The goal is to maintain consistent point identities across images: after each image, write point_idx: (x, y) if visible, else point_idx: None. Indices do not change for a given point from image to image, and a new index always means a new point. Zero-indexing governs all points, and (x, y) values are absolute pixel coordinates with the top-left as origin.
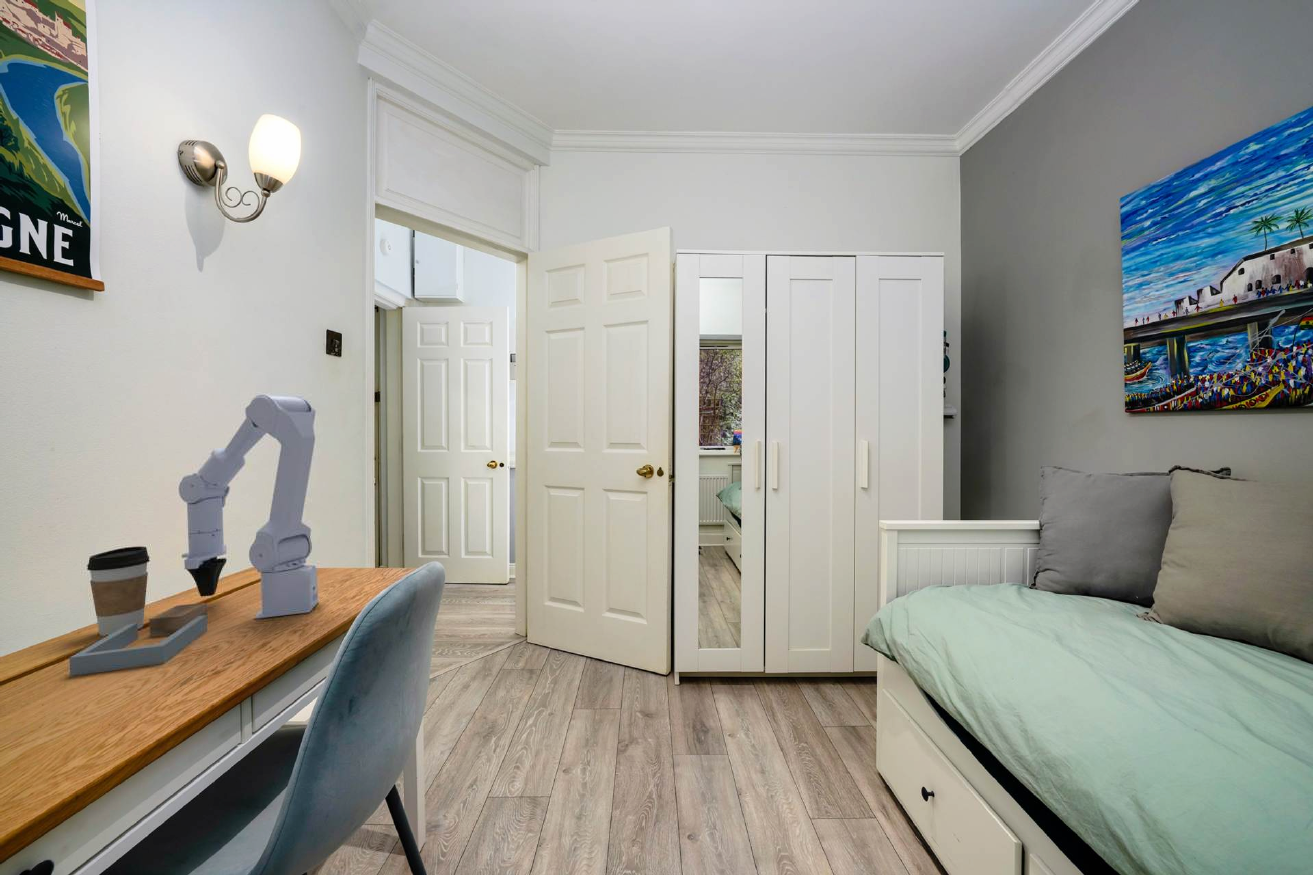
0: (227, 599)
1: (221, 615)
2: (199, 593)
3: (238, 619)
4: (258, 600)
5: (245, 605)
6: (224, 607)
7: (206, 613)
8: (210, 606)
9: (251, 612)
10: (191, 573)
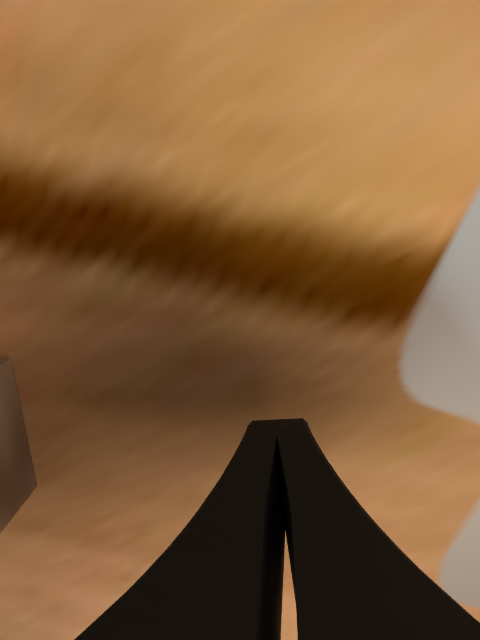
0: (458, 431)
1: (88, 524)
2: (249, 430)
3: (10, 606)
4: None
5: None
6: None
7: (13, 510)
8: (307, 397)
9: None
10: (91, 637)
